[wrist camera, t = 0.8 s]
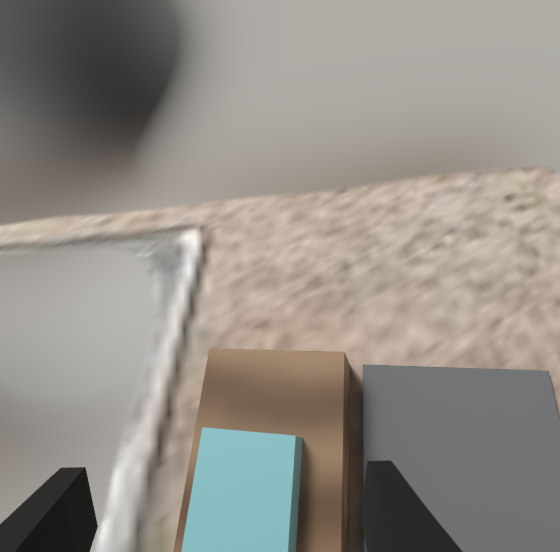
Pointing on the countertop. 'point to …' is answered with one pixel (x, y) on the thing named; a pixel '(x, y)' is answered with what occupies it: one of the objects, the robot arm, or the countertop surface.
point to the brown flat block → (286, 428)
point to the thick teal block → (244, 493)
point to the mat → (471, 450)
